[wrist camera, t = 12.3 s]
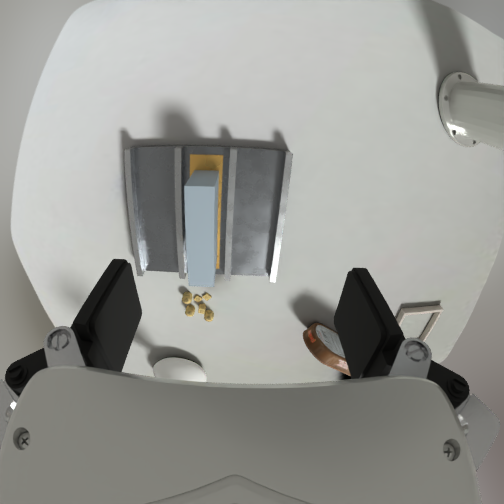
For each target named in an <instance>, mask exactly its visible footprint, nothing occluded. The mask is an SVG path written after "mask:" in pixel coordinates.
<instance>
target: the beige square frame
mask: <svg viewBox="0 0 504 504" xmlns="http://www.w3.org/2000/svg"><path fill="white" fill-rule="evenodd" d="M442 311H443V308H442V307H441V306H440V305H436V306H425V307H413V308H401V310H400V312H399V314H398V316H397V318H396V321H397V322H398V324H399V326H400V325H401V323H402V321H403V319H404V317H405V316H406V315H415V314H424V313H433V312H434V314H433V316H432V318H431V320H430V321H429V323H428V325H427V327H426V328H425V330H424V332H423V333H422V335H421V337H420V338H419V339H420V340H422V341H423V342H424V341H425V340H426V338H427V337H428V335H429V333H430V332H431V330H432V328H433V327H434V325H435V323H436V322H437V320H438V318H439V316H440V315H441V313H442Z"/></svg>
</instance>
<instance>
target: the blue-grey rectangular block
mask: <svg viewBox="0 0 504 504" xmlns="http://www.w3.org/2000/svg"><path fill="white" fill-rule="evenodd" d="M218 189H219V171H217V170H194V172H193V173H192V175H191V176H190V178H189V180H188V181H187V183H186V184H185V186H184V196H185V229H186V250H187V267H188V281H189V286H204V287H214V283H215V273H216V263H217V233H218Z"/></svg>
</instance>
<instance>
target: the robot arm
mask: <svg viewBox="0 0 504 504" xmlns="http://www.w3.org/2000/svg"><path fill="white" fill-rule="evenodd" d="M439 110H440V115H441V120H442V122H443V125H444V128H445V129H446V131H447V133H448V134H449V136H450V137H451V138H452V139H453V140H454V141H455V142H456V143H458V144H459V145H462V146H465V147H474V146H476V145H478V144H479V143H480V142H481V143H484V144H487V145H490V146H493V147H495V148H498V149H501V150H503V151H504V86H501V85H494V84H486V83H478V82H477V81H476V80H475V79H474V78H473V77H472V76H471V75H469V74H467V73H463V72H454V73H451V74H449V75H448V76H447V77H446V78H445V79H444V81H443V83H442V85H441V88H440V92H439ZM141 316H142V309H141V305H140V301H139V297H138V293H137V289H136V285H135V281H134V276H133V272H132V267H131V264H130V263H128V262H127V260H125V259H113V260H112V261H111V263H110V264H109V266H108V267H107V269H106V270H105V272H104V273H103V275H102V276H101V278H100V279H99V281H98V282H97V284H96V285H95V287H94V288H93V290H92V292H91V293H90V295H89V296H88V298H87V300H86V301H85V303H84V304H83V306H82V308H81V309H80V311H79V313H78V314H77V316H76V318H75V320H74V321H73V324H72V326H71V327H70V328H69V327H66V326H60V327H56V328H54V329H52V330H51V331H50V332H49V333H48V334H47V335H46V337H45V339H44V348H42V349H40V350H38V351H36V352H34V353H32V354H30V355H28V356H26V357H24V358H22V359H20V360H17V361H15V362H14V363H12V364H11V365H10V366H9V367H8V369H7V371H6V374H5V381H4V382H3V380H0V504H482V501H481V495H480V489H479V484H478V479H477V475H476V471H477V470H478V468H479V466H480V465H481V463H482V462H483V460H484V458H485V456H486V454H487V453H488V451H489V449H490V447H491V446H492V444H493V442H494V440H495V438H496V436H497V434H498V432H499V429H500V422H499V419H498V417H497V416H496V415H495V414H494V413H493V412H492V411H491V410H490V409H489V408H488V407H487V406H486V405H485V404H484V403H483V402H482V401H481V400H480V399H478V397H476V396H475V395H474V394H472V395H470V394H469V385H468V383H467V381H466V380H465V379H464V378H463V377H461V376H460V375H458V374H456V373H454V372H453V371H451V370H449V369H447V368H445V367H443V366H441V365H440V364H438V363H436V362H434V361H432V360H431V358H432V353H431V350H430V348H429V346H428V345H427V344H426V343H425V342H423V341H422V340H420V339H417V338H407V339H405V337H404V335H403V332H402V330H401V328H400V326H399V324H398V322H397V321H396V319H395V317H394V315H393V313H392V311H391V310H390V308H389V306H388V304H387V302H386V301H385V299H384V297H383V295H382V294H381V292H380V290H379V289H378V287H377V285H376V283H375V282H374V280H373V278H372V277H371V275H370V273H369V272H368V270H367V269H366V268H353V269H352V271H349V272H348V274H347V278H346V281H345V284H344V288H343V291H342V294H341V297H340V301H339V304H338V307H337V310H336V313H335V316H334V324H335V327H336V330H337V333H338V337H339V340H340V343H341V346H342V349H343V352H344V355H345V359H346V362H347V365H348V368H349V372H350V375H351V378H352V379H350V380H339V381H327V382H313V383H293V384H231V383H211V382H197V381H185V380H175V379H166V378H158V377H150V376H143V375H136V374H130V373H123V372H122V369H123V366H124V363H125V360H126V357H127V354H128V352H129V349H130V346H131V343H132V340H133V338H134V335H135V332H136V330H137V327H138V324H139V322H140V319H141Z"/></svg>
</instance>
